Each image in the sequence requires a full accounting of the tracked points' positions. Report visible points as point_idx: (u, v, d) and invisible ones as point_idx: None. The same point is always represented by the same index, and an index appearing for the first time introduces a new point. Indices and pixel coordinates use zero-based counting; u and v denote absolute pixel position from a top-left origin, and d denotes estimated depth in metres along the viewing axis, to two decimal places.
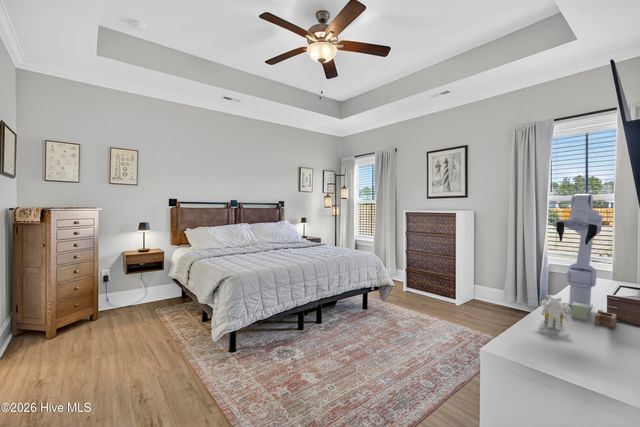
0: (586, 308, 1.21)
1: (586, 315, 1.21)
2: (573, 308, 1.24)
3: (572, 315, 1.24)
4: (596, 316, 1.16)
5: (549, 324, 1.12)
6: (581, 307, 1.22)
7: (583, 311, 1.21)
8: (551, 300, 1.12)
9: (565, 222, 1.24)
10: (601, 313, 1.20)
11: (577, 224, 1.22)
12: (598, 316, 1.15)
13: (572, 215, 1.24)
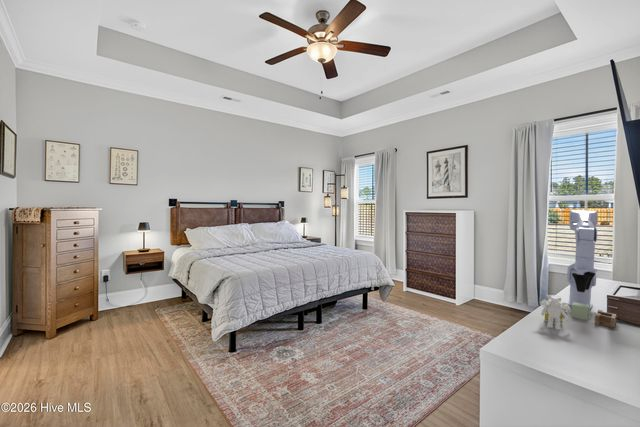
0: (586, 308, 1.21)
1: (586, 315, 1.21)
2: (573, 308, 1.24)
3: (572, 315, 1.24)
4: (596, 316, 1.16)
5: (549, 324, 1.12)
6: (581, 307, 1.22)
7: (583, 311, 1.21)
8: (551, 300, 1.12)
9: None
10: (601, 313, 1.20)
11: None
12: (598, 316, 1.15)
13: (590, 263, 1.23)
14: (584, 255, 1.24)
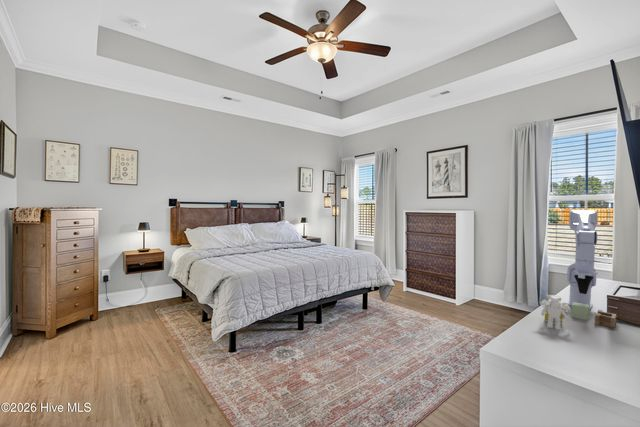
0: (586, 308, 1.21)
1: (586, 315, 1.21)
2: (573, 308, 1.24)
3: (572, 315, 1.24)
4: (596, 316, 1.16)
5: (549, 324, 1.12)
6: (581, 307, 1.22)
7: (583, 311, 1.21)
8: (551, 300, 1.12)
9: (586, 274, 1.23)
10: (601, 313, 1.20)
11: None
12: (598, 316, 1.15)
13: (591, 266, 1.23)
14: (584, 258, 1.24)
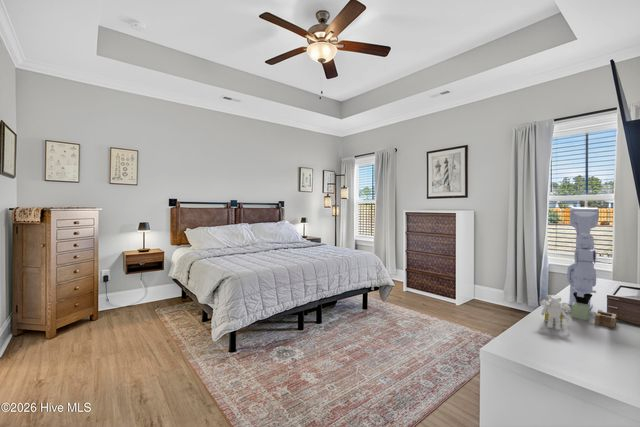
0: (586, 308, 1.21)
1: (586, 315, 1.21)
2: (573, 308, 1.24)
3: (572, 315, 1.24)
4: (596, 316, 1.16)
5: (549, 324, 1.12)
6: (581, 307, 1.22)
7: (583, 311, 1.21)
8: (551, 300, 1.12)
9: None
10: (601, 313, 1.20)
11: None
12: (598, 316, 1.15)
13: (590, 285, 1.24)
14: (583, 276, 1.24)
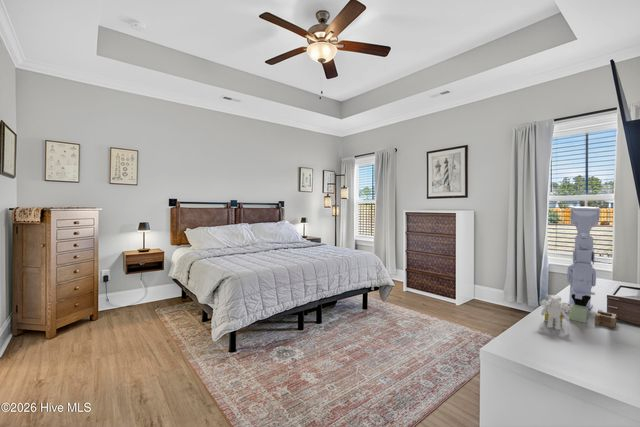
0: (584, 310, 1.18)
1: (584, 317, 1.18)
2: (571, 310, 1.21)
3: (570, 317, 1.21)
4: (596, 316, 1.16)
5: (549, 324, 1.12)
6: (579, 309, 1.19)
7: (581, 313, 1.18)
8: (551, 300, 1.12)
9: None
10: (601, 313, 1.20)
11: None
12: (598, 316, 1.15)
13: (588, 286, 1.21)
14: (581, 278, 1.21)
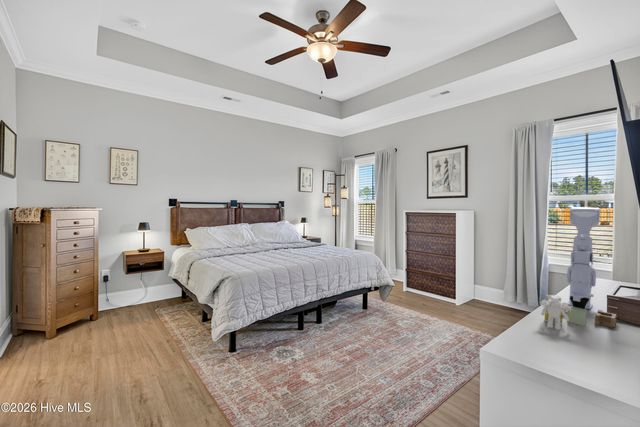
0: (583, 313, 1.15)
1: (583, 320, 1.15)
2: (569, 312, 1.18)
3: None
4: (596, 316, 1.16)
5: (549, 324, 1.12)
6: (577, 312, 1.16)
7: (580, 316, 1.16)
8: (551, 300, 1.12)
9: None
10: (601, 313, 1.20)
11: None
12: (598, 316, 1.15)
13: (587, 288, 1.18)
14: (579, 280, 1.19)
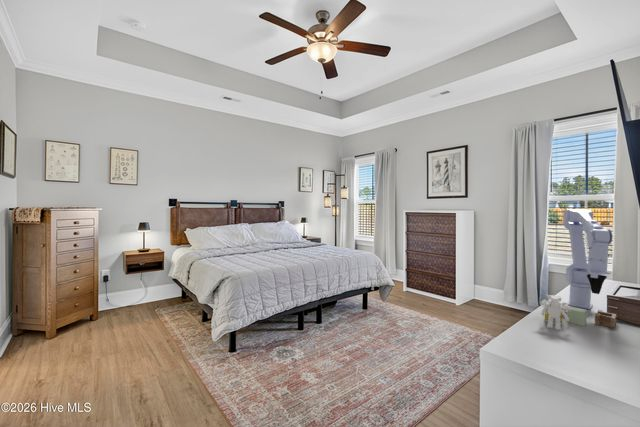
0: (583, 313, 1.15)
1: (583, 320, 1.15)
2: (569, 313, 1.18)
3: None
4: (596, 316, 1.16)
5: (549, 324, 1.12)
6: (577, 312, 1.16)
7: (579, 316, 1.16)
8: (551, 300, 1.12)
9: None
10: (601, 313, 1.20)
11: None
12: (598, 316, 1.15)
13: (604, 266, 1.20)
14: (600, 258, 1.21)
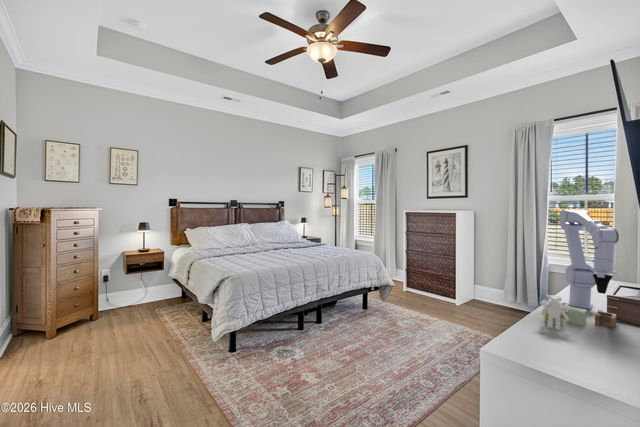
0: (583, 313, 1.15)
1: (583, 320, 1.15)
2: (569, 313, 1.18)
3: None
4: (596, 316, 1.16)
5: (549, 324, 1.12)
6: (577, 312, 1.16)
7: (580, 316, 1.16)
8: (551, 300, 1.12)
9: (605, 273, 1.20)
10: (601, 313, 1.20)
11: None
12: (598, 316, 1.15)
13: (610, 265, 1.20)
14: (607, 257, 1.20)
